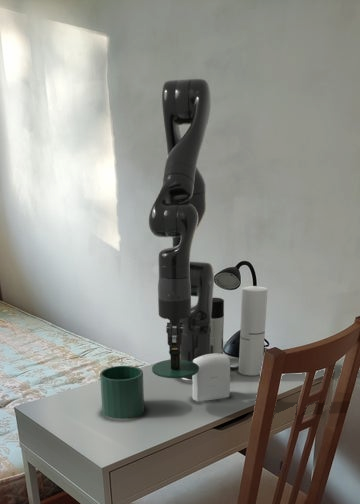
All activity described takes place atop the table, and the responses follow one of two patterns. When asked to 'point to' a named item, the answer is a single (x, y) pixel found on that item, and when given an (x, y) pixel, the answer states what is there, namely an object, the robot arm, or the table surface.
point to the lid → (165, 370)
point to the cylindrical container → (252, 329)
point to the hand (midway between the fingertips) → (175, 366)
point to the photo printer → (211, 377)
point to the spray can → (217, 325)
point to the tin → (122, 392)
